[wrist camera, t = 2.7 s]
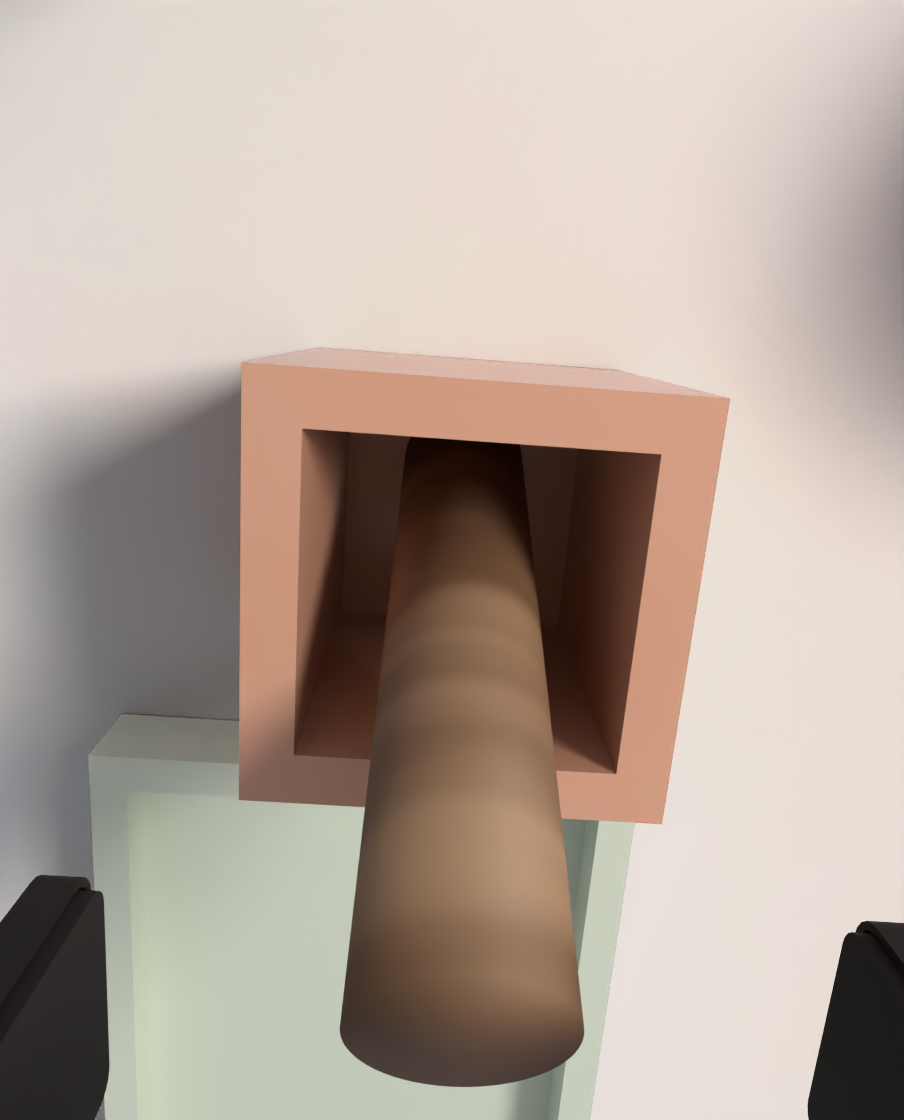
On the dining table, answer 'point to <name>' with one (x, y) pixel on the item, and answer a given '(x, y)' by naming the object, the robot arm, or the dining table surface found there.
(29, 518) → the dining table surface
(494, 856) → the dowel
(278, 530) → the pink square bin
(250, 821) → the tray
